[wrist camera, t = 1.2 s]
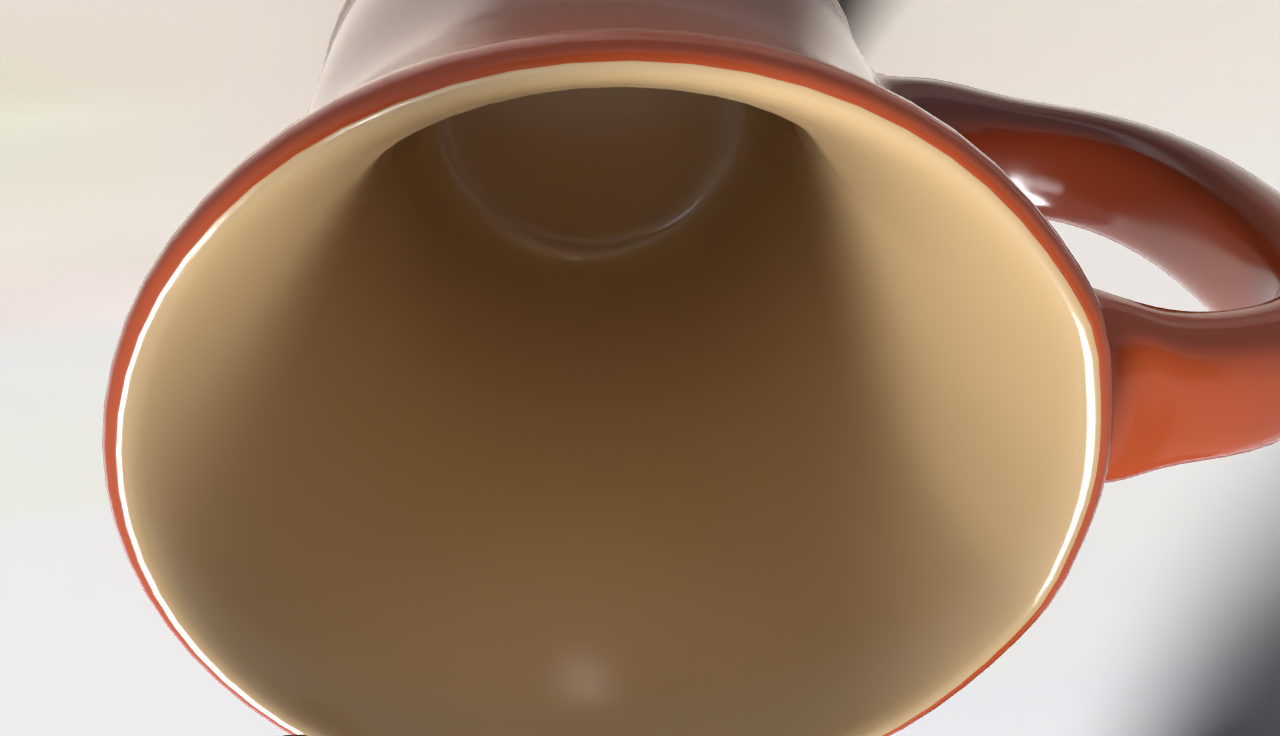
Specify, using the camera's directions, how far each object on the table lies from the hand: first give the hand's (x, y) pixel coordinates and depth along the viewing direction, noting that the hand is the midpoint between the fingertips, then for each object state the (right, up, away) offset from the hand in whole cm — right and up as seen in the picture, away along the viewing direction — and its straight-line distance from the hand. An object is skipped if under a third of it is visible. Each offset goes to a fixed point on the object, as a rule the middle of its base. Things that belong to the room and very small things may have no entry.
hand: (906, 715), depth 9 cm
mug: (-1, +8, +10) cm, 13 cm away
